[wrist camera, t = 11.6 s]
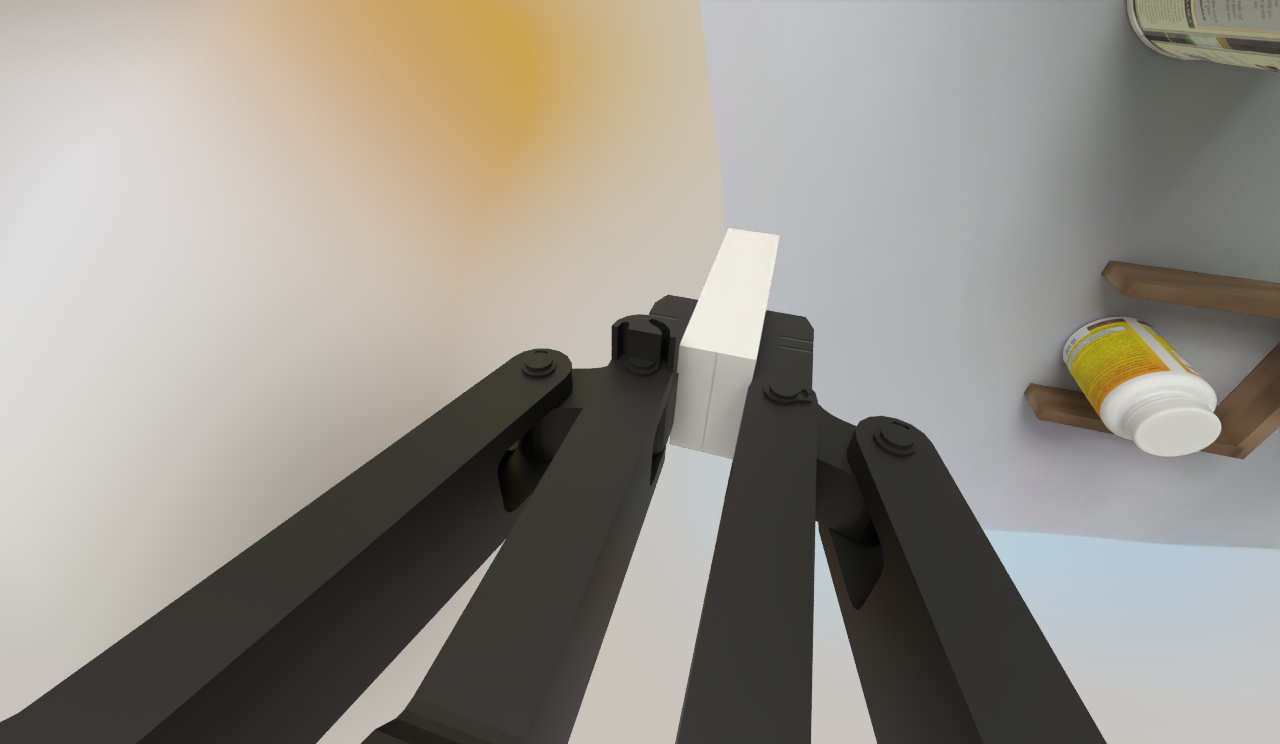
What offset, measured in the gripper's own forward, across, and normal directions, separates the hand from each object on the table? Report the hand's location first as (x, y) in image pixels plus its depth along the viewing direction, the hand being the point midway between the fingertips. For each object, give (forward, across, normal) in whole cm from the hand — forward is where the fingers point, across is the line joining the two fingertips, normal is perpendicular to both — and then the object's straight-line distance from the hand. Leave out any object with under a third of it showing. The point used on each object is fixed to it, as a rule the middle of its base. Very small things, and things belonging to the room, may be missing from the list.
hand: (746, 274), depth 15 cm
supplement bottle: (+27, +27, -13) cm, 40 cm away
